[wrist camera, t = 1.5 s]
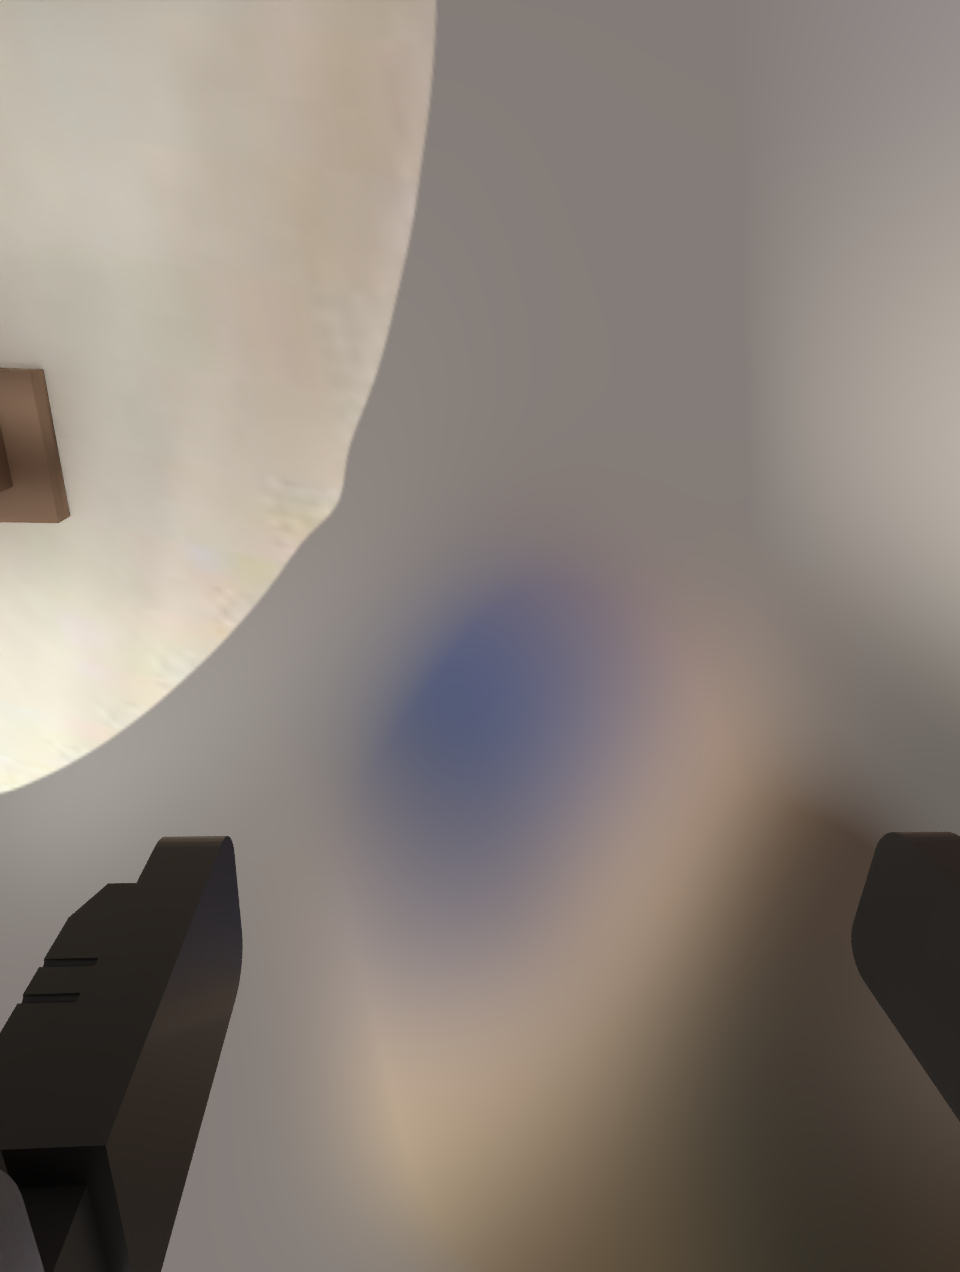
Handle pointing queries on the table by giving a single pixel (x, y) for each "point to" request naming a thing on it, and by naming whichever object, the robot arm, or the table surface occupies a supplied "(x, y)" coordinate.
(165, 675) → the table surface
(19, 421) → the tall stand
